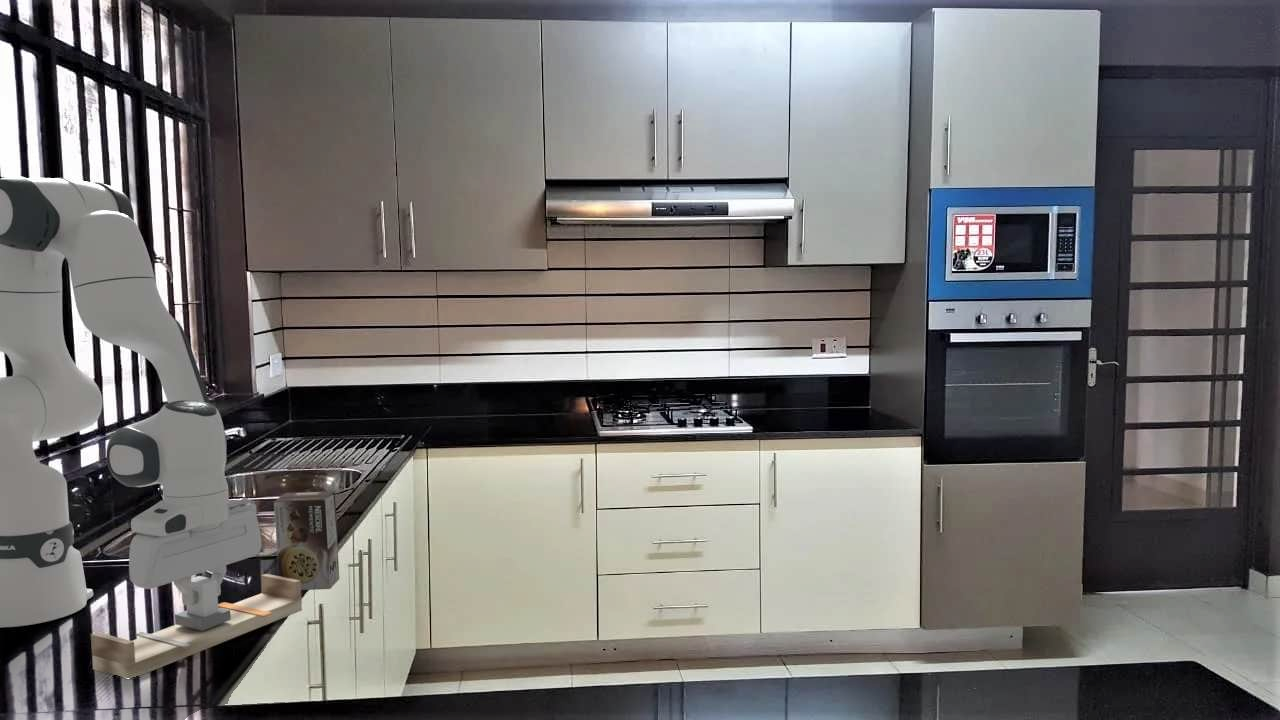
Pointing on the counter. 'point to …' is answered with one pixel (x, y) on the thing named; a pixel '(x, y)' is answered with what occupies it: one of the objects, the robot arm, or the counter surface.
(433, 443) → the counter surface
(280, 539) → the coffee box
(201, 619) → the fader tab
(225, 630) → the fader track
